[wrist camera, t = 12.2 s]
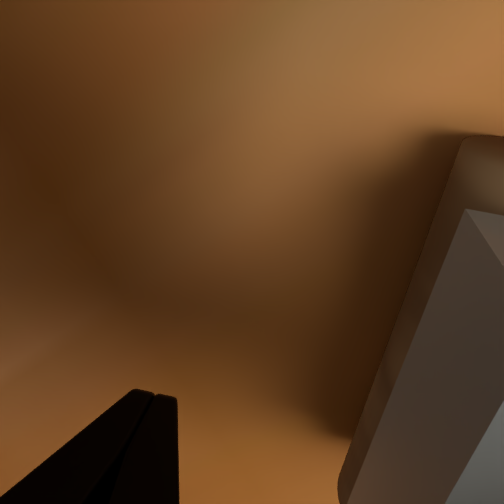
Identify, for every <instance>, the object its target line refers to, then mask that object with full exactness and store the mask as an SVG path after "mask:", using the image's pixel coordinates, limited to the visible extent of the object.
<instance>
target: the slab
mask: <svg viewBox="0 0 504 504" xmlns="http://www.w3.org/2000/svg"><path fill="white" fill-rule="evenodd" d="M347 504H504V216H503V215H497V214H492V213H487V212H481V211H476V210H470V209H465V210H464V213H463V215H462V218H461V220H460V223H459V225H458V228H457V230H456V233H455V235H454V238H453V240H452V243H451V245H450V248H449V250H448V253H447V255H446V258H445V260H444V263H443V265H442V268H441V270H440V273H439V275H438V278H437V280H436V283H435V285H434V288H433V290H432V293H431V295H430V298H429V300H428V303H427V305H426V308H425V310H424V313H423V315H422V318H421V320H420V323H419V325H418V328H417V330H416V333H415V335H414V338H413V340H412V343H411V345H410V348H409V350H408V353H407V355H406V358H405V360H404V363H403V365H402V368H401V370H400V373H399V375H398V378H397V380H396V383H395V385H394V388H393V390H392V393H391V395H390V398H389V400H388V403H387V405H386V408H385V410H384V413H383V415H382V418H381V420H380V423H379V425H378V428H377V430H376V433H375V435H374V438H373V440H372V442H371V445H370V447H369V450H368V452H367V455H366V457H365V460H364V462H363V465H362V467H361V470H360V472H359V475H358V477H357V480H356V482H355V485H354V487H353V490H352V492H351V495H350V497H349V500H348V502H347Z"/></svg>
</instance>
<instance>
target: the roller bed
mask: <svg viewBox="0 0 504 504" xmlns="http://www.w3.org/2000/svg"><path fill="white" fill-rule="evenodd" d="M465 209H470V210H476V211H481V212H487V213H492V214H497V215H503V216H504V137H499V136H472V137H468V138H465V139H464V140H463V141H462V143H461V146H460V148H459V151H458V154H457V156H456V159H455V162H454V165H453V167H452V170H451V173H450V176H449V178H448V181H447V184H446V186H445V189H444V192H443V195H442V197H441V200H440V203H439V205H438V208H437V211H436V214H435V216H434V219H433V222H432V224H431V227H430V230H429V233H428V235H427V238H426V241H425V243H424V246H423V249H422V252H421V254H420V257H419V260H418V262H417V265H416V268H415V271H414V273H413V276H412V279H411V281H410V284H409V287H408V290H407V292H406V295H405V298H404V300H403V303H402V306H401V309H400V311H399V314H398V317H397V319H396V322H395V325H394V328H393V330H392V333H391V336H390V338H389V341H388V344H387V347H386V349H385V352H384V355H383V357H382V360H381V363H380V366H379V368H378V371H377V374H376V377H375V379H374V382H373V385H372V387H371V390H370V393H369V396H368V398H367V401H366V404H365V406H364V409H363V412H362V415H361V417H360V420H359V423H358V425H357V428H356V431H355V434H354V436H353V439H352V442H351V444H350V447H349V450H348V453H347V455H346V458H345V461H344V463H343V466H342V469H341V472H340V474H339V478H338V488H337V489H338V498H339V503H340V504H347V502H348V500H349V497H350V495H351V492H352V490H353V487H354V485H355V482H356V480H357V477H358V475H359V472H360V470H361V467H362V465H363V462H364V460H365V457H366V455H367V452H368V450H369V447H370V445H371V442H372V440H373V438H374V435H375V433H376V430H377V428H378V425H379V423H380V420H381V418H382V415H383V413H384V410H385V408H386V405H387V403H388V400H389V398H390V395H391V393H392V390H393V388H394V385H395V383H396V380H397V378H398V375H399V373H400V370H401V368H402V365H403V363H404V360H405V358H406V355H407V353H408V350H409V348H410V345H411V343H412V340H413V338H414V335H415V333H416V330H417V328H418V325H419V323H420V320H421V318H422V315H423V313H424V310H425V308H426V305H427V303H428V300H429V298H430V295H431V293H432V290H433V288H434V285H435V283H436V280H437V278H438V275H439V273H440V270H441V268H442V265H443V263H444V260H445V258H446V255H447V253H448V250H449V248H450V245H451V243H452V240H453V238H454V235H455V233H456V230H457V228H458V225H459V223H460V220H461V218H462V215H463V213H464V210H465Z"/></svg>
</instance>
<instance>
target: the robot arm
mask: <svg viewBox="0 0 504 504" xmlns="http://www.w3.org/2000/svg"><path fill="white" fill-rule="evenodd" d="M0 504H179V456H178V404H177V399H176V398H175V397H172V396H168V395H163V394H156V395H155V394H154V393H152V392H149V391H144V390H140V389H133V390H131V391H130V392H128V393H127V394H126V395H125V396H124V397H122V398H121V399H120V400H119V401H117V402H116V403H115V404H114V405H112V406H111V407H110V408H109V409H108V410H106V411H105V412H104V413H103V414H101V415H100V416H99V417H98V418H97V419H95V420H94V421H93V422H92V423H90V424H89V425H88V426H87V427H86V428H84V429H83V430H82V431H81V432H79V433H78V434H77V435H76V436H75V437H73V438H72V439H71V440H70V441H68V442H67V443H66V444H65V445H63V446H62V447H61V448H60V449H59V450H57V451H56V452H55V453H54V454H52V455H51V456H50V457H49V458H48V459H46V460H45V461H44V462H43V463H41V464H40V465H39V466H38V467H37V468H35V469H34V470H33V471H32V472H30V473H29V474H28V475H27V476H26V477H24V478H23V479H22V480H21V481H19V482H18V483H17V484H16V485H14V486H13V487H12V488H11V489H10V490H8V491H7V492H6V493H5V494H3V495H2V496H1V497H0Z"/></svg>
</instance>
